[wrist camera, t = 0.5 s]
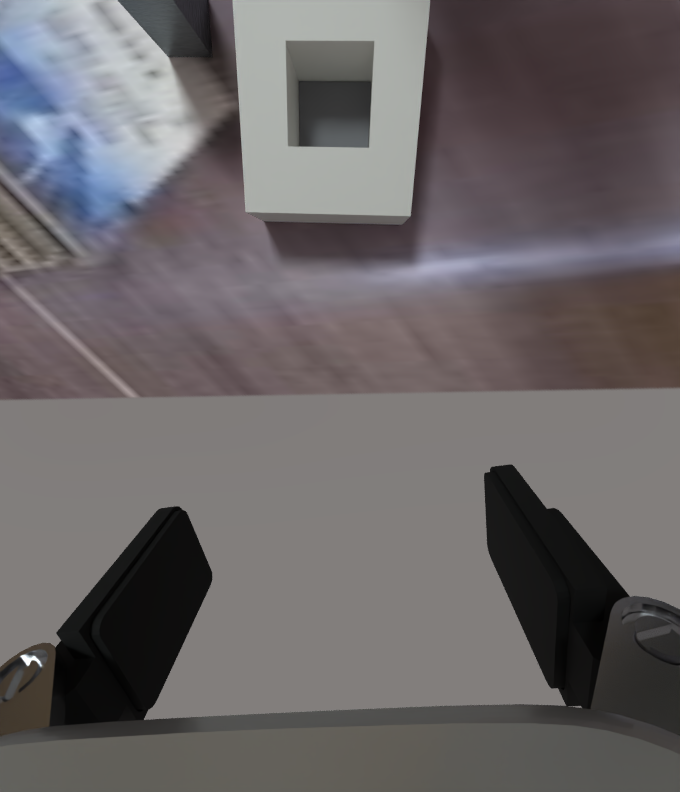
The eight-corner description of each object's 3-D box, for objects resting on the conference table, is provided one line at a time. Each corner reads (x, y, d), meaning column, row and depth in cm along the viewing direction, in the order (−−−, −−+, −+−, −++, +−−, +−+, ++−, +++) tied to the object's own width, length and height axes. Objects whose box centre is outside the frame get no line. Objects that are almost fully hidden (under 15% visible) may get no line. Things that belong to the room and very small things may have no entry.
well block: (254, 12, 29) (229, -50, 23) (419, 12, 28) (434, -51, 23) (264, 221, 35) (245, 212, 29) (402, 224, 34) (410, 216, 28)
